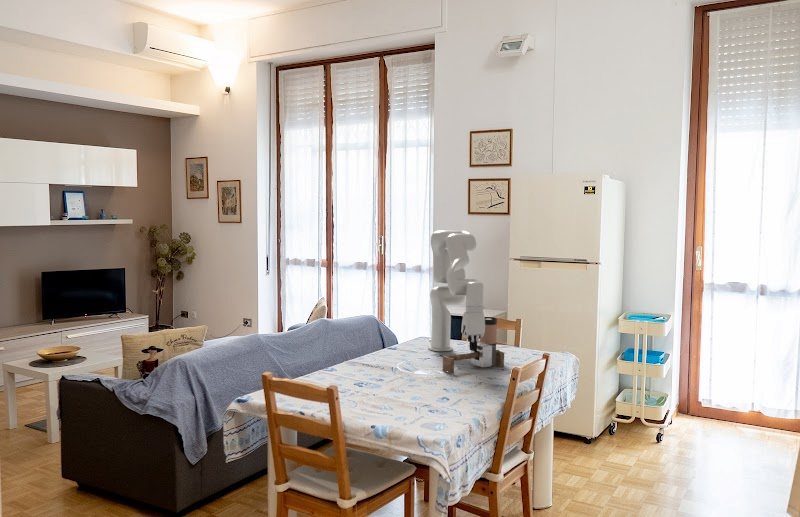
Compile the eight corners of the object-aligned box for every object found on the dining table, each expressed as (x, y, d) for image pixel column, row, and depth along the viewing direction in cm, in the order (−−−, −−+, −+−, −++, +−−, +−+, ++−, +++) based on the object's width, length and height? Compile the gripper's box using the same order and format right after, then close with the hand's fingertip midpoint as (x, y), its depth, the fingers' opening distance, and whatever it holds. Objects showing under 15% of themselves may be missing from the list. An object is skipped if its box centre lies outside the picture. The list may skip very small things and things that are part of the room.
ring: (490, 364, 299) (491, 346, 298) (480, 360, 306) (480, 343, 305) (495, 364, 300) (495, 346, 299) (484, 360, 307) (485, 343, 306)
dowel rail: (450, 373, 290) (450, 357, 289) (442, 370, 295) (442, 354, 294) (503, 366, 304) (504, 350, 303) (495, 363, 309) (496, 348, 308)
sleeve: (482, 367, 296) (482, 347, 295) (470, 362, 304) (471, 343, 303) (491, 366, 298) (492, 346, 298) (479, 361, 306) (480, 342, 305)
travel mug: (495, 358, 319) (496, 317, 317) (496, 362, 311) (497, 320, 309) (479, 358, 320) (480, 316, 318) (479, 362, 312) (480, 319, 310)
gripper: (483, 307, 304) (481, 347, 305) (455, 309, 296) (454, 350, 298) (493, 309, 297) (491, 350, 299) (465, 311, 290) (464, 353, 292)
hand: (473, 350), depth 298 cm, fingers closed
